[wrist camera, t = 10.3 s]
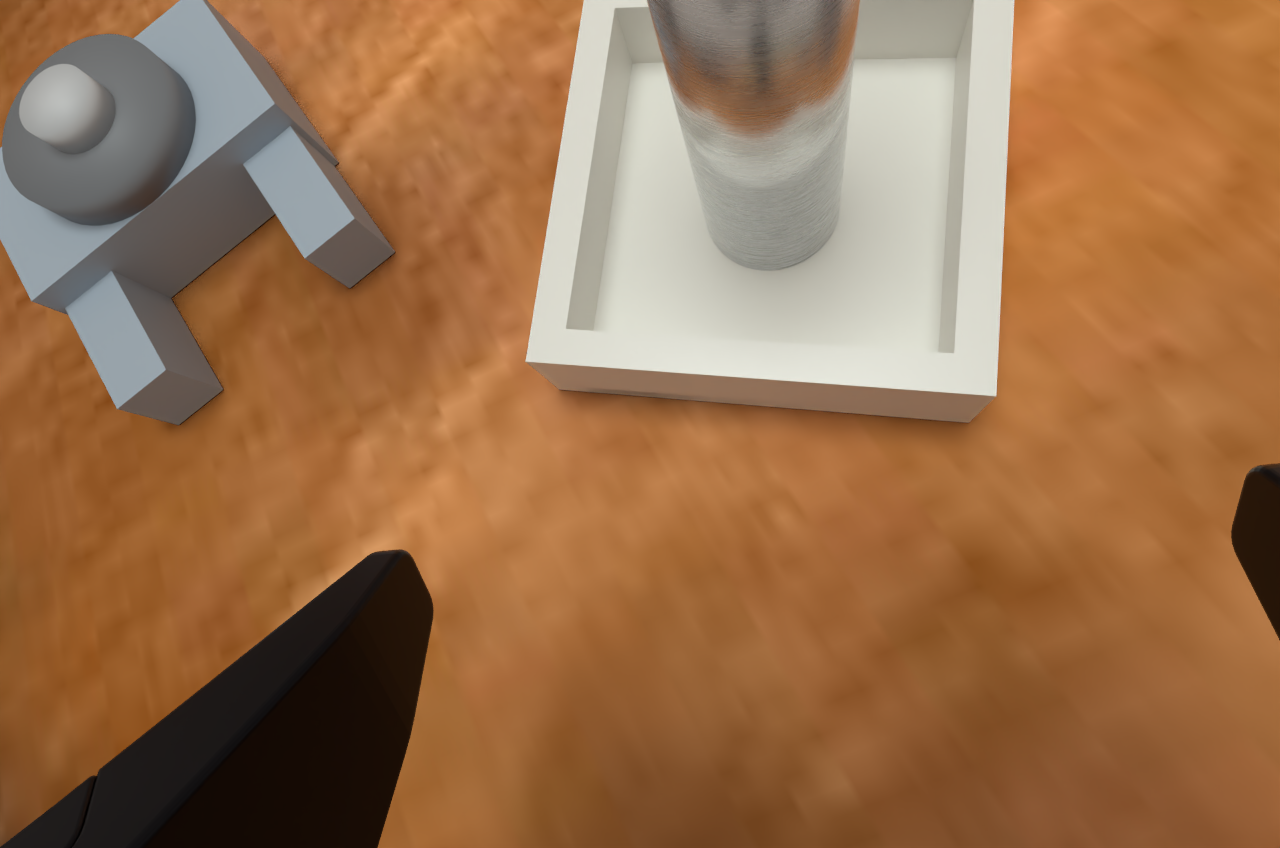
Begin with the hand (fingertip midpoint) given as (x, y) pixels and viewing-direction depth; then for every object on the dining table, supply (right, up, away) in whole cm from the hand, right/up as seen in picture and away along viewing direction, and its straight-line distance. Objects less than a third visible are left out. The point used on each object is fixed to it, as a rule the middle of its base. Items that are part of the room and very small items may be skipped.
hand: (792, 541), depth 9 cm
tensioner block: (-17, +8, +19) cm, 27 cm away
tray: (+2, +8, +15) cm, 17 cm away
